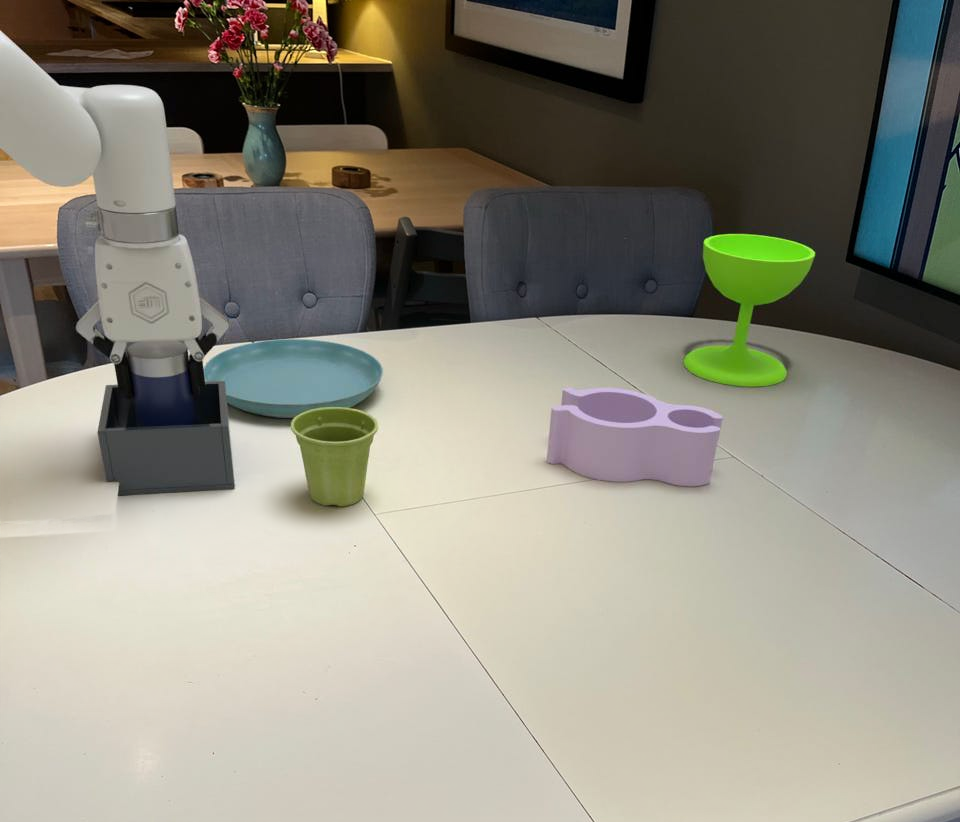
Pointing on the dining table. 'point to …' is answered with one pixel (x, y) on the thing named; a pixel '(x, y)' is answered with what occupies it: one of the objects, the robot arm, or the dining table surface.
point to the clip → (632, 437)
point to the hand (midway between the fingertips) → (163, 391)
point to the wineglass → (748, 302)
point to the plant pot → (335, 452)
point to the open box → (167, 446)
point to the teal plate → (294, 376)
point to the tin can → (161, 383)
